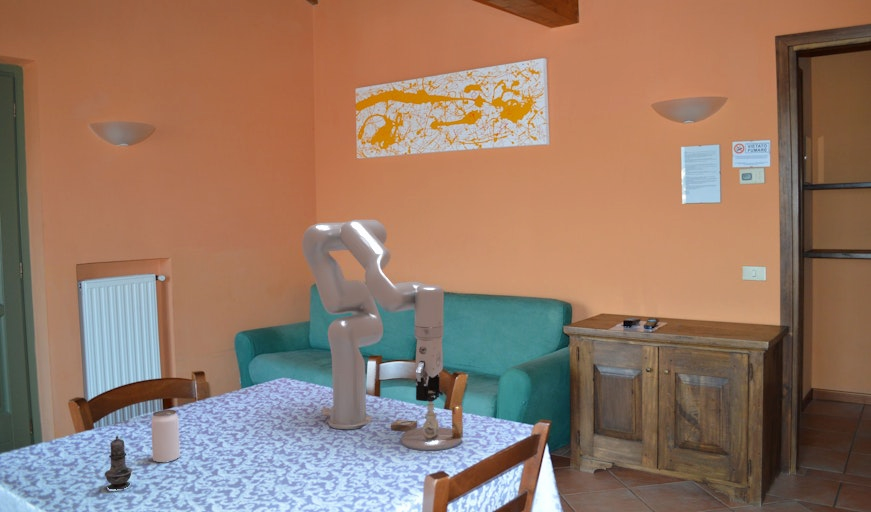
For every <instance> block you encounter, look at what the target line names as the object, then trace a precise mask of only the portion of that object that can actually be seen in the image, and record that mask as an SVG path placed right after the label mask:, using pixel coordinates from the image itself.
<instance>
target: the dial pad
mask: <svg viewBox="0 0 871 512" xmlns="http://www.w3.org/2000/svg"><path fill="white" fill-rule="evenodd" d="M417 428H418V421H417V420H407V419H406V420H405V419H396V420H395V421H393V422H392V423H390V431H396V432H407V431H409V430H412V429H417Z"/></svg>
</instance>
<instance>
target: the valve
mask: <svg viewBox="0 0 871 512" xmlns="http://www.w3.org/2000/svg"><path fill="white" fill-rule="evenodd" d="M443 395H444V391H443V390H441V388H439V389H436V390H434V388H430V389H428V401H427V402H428V403H427V406H426V408H427V409H426V410H427V412H426V413H424V418H425V419H426V420H425V422H424V423H423V425H422V428H423V435H424V436H426V437H427V438H429V439H430V438H432V437H434V436H435V435H436V433H437V432H438V430H439V427H440V426H439V420H437V414H436V413H435V411H434V410H435V405H434V403H433V402H435V401H436V400H438V398H439V397H440V396H443ZM429 427H432V428H433V429H432V428H429Z"/></svg>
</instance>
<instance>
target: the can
mask: <svg viewBox="0 0 871 512" xmlns="http://www.w3.org/2000/svg"><path fill="white" fill-rule="evenodd" d="M150 420H151V424H150V425H151V429H150V430H151V449H152V450H151V451H152V460H153V462H155V461H157V462H167V461H172V460H175V459H177V458H178V459H179V458H180V456H181V455H180V454H181V453H180V451H181V450H180V428H179V427H180V425H179V416H178V414H177V411H176V410H175V409H162V410H157V411H154V412H153V413H152V416H151V419H150ZM178 459H177V460H178ZM175 461H176V460H175ZM157 462H156V463H157ZM172 462H173V461H172ZM167 463H168V462H167Z"/></svg>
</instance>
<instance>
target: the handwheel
mask: <svg viewBox="0 0 871 512" xmlns="http://www.w3.org/2000/svg"><path fill="white" fill-rule="evenodd" d="M463 416H464V415H463V406H462V405H460V404H459V405H458V404H456V405H452V406H451V428H449V427H443V426H442V427H440V426H439V430H438V432H437V433H436V435H435V436H434V437H432V438H430V439H429V438H427V437H426V436H424V435H423V427H419V428H418V427H416V428H415V429H412V430H409V431H407V432H406V431H404V432H402V434H401V437H400V439H401V440H400V441H401V444H402V445H403V446H404V447H405V448H407V449H410V450H415V451H422V452H437V451H445V450H450V449H452V448H456V447H457V446H459V445H460V444H462V440H463V439H462V438H464V429H463V427H464V426H463V425H464V424H463V423H464V422H463V421H464V420H463ZM429 428H432V427H429ZM432 429H433V428H432Z"/></svg>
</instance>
